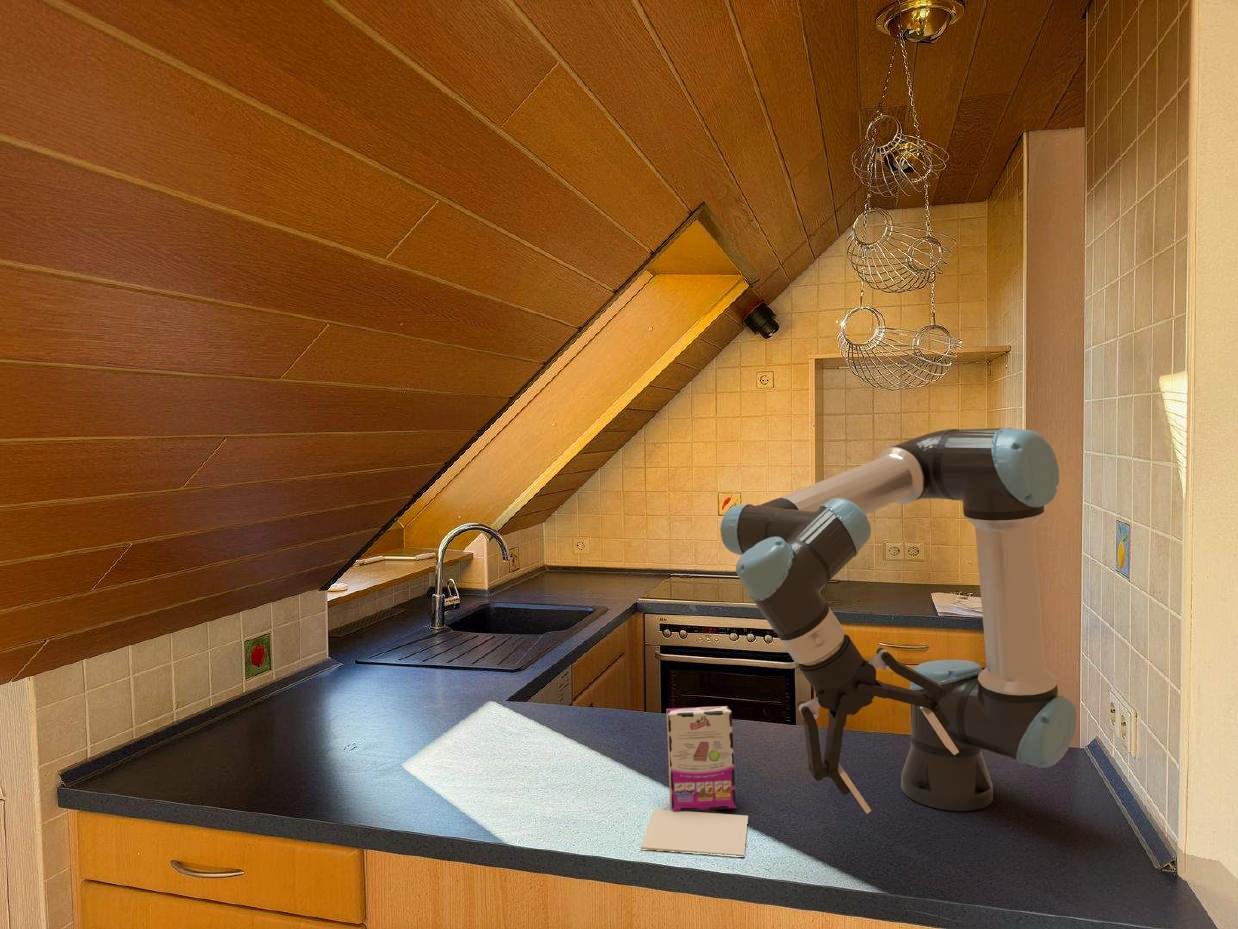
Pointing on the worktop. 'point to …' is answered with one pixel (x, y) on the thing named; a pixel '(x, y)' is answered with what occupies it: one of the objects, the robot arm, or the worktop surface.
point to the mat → (696, 832)
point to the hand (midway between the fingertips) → (909, 778)
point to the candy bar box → (701, 758)
